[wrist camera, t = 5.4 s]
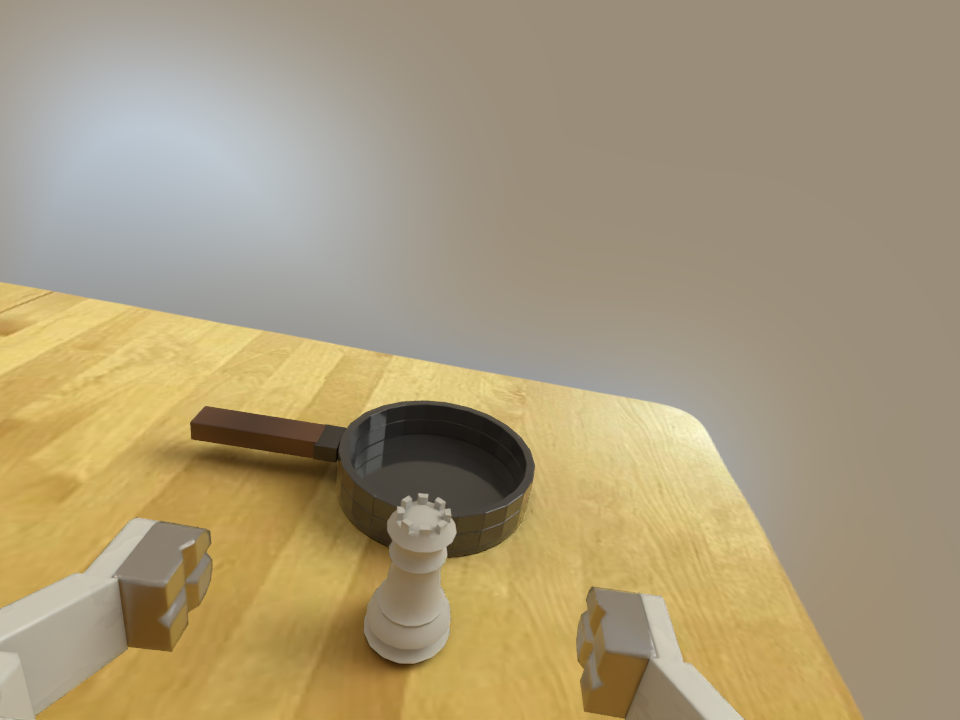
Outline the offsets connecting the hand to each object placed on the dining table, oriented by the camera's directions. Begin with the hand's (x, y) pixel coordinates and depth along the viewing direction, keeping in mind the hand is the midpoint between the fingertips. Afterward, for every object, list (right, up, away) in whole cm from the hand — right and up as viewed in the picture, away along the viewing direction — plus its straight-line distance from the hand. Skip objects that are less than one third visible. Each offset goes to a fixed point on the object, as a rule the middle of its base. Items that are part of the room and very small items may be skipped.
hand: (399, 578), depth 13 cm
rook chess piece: (-2, -10, +18) cm, 21 cm away
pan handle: (-13, -1, +28) cm, 31 cm away
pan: (-2, -4, +29) cm, 29 cm away
